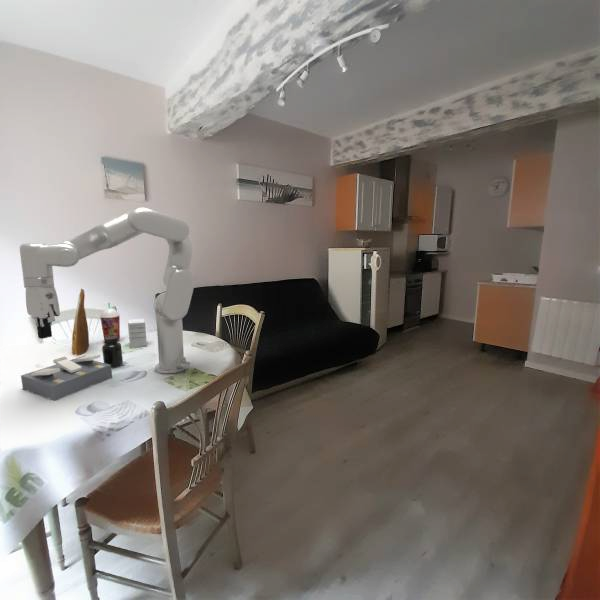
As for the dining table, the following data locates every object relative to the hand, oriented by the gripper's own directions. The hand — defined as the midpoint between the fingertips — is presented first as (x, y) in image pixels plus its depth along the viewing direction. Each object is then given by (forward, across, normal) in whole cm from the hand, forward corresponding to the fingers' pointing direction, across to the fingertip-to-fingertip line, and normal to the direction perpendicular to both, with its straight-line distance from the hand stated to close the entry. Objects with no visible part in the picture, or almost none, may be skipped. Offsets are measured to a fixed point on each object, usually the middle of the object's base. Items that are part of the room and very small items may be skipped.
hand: (45, 337), depth 106 cm
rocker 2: (+12, +2, -7) cm, 14 cm away
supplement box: (+19, +15, -47) cm, 53 cm away
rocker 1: (+12, +2, 0) cm, 13 cm away
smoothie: (+20, +31, -45) cm, 58 cm away
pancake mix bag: (+20, +32, -31) cm, 49 cm away
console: (+20, +2, -7) cm, 21 cm away
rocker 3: (+12, +2, -14) cm, 19 cm away
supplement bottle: (+20, +3, -25) cm, 32 cm away
